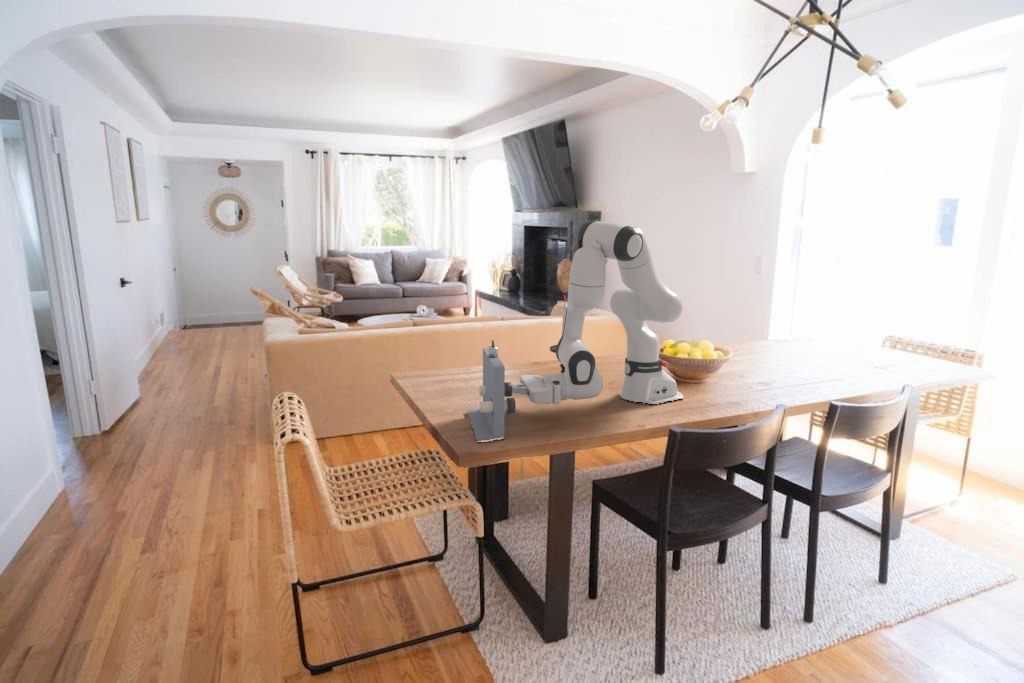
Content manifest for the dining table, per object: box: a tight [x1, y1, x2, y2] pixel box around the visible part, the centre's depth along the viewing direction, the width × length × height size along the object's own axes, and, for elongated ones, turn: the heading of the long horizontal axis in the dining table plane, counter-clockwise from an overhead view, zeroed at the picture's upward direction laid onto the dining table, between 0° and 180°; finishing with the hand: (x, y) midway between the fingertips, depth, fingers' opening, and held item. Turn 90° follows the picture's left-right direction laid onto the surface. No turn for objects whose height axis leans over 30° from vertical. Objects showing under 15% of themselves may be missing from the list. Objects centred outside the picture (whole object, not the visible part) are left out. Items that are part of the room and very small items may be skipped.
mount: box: [467, 347, 506, 442], centre depth 178 cm, size 8×26×22 cm, turn 10°
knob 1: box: [478, 381, 513, 398], centre depth 187 cm, size 10×5×5 cm, turn 100°
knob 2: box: [479, 397, 517, 415], centre depth 171 cm, size 10×5×5 cm, turn 100°
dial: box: [487, 339, 499, 358], centre depth 175 cm, size 3×3×5 cm
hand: (510, 389), depth 187 cm, fingers closed, pressing on knob 1
